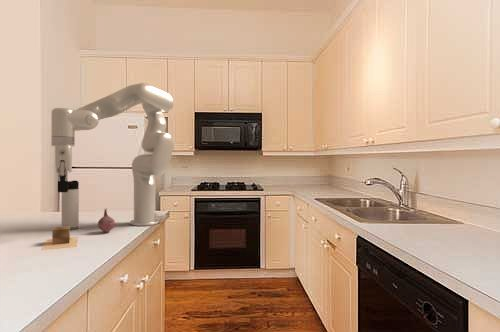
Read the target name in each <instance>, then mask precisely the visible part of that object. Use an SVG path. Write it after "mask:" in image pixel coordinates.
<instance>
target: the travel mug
mask: <svg viewBox="0 0 500 332" xmlns="http://www.w3.org/2000/svg"><path fill="white" fill-rule="evenodd" d="M67 181H68V180H67ZM79 183H80V182H79V181H78V180H70V181H68V192H61V227H64V226H70V231H73V230H78V229H79V226H80V225H79V222H80V221H79V220H80V219H79V217H80V215H79V211H80V210H79V209H80V206H79V205H80V204H79V201H80V200H79V198H80V195H79V194H80V191H79V189H80V188H79Z"/></svg>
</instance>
